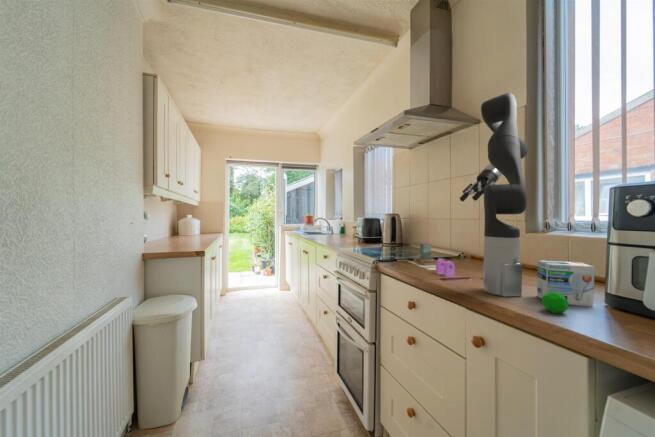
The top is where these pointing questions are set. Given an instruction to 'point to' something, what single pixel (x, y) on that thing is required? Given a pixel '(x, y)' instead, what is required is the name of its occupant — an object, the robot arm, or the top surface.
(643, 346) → the top surface
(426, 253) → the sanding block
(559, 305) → the green lime
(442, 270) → the bracket
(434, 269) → the board
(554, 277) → the light bulb box
